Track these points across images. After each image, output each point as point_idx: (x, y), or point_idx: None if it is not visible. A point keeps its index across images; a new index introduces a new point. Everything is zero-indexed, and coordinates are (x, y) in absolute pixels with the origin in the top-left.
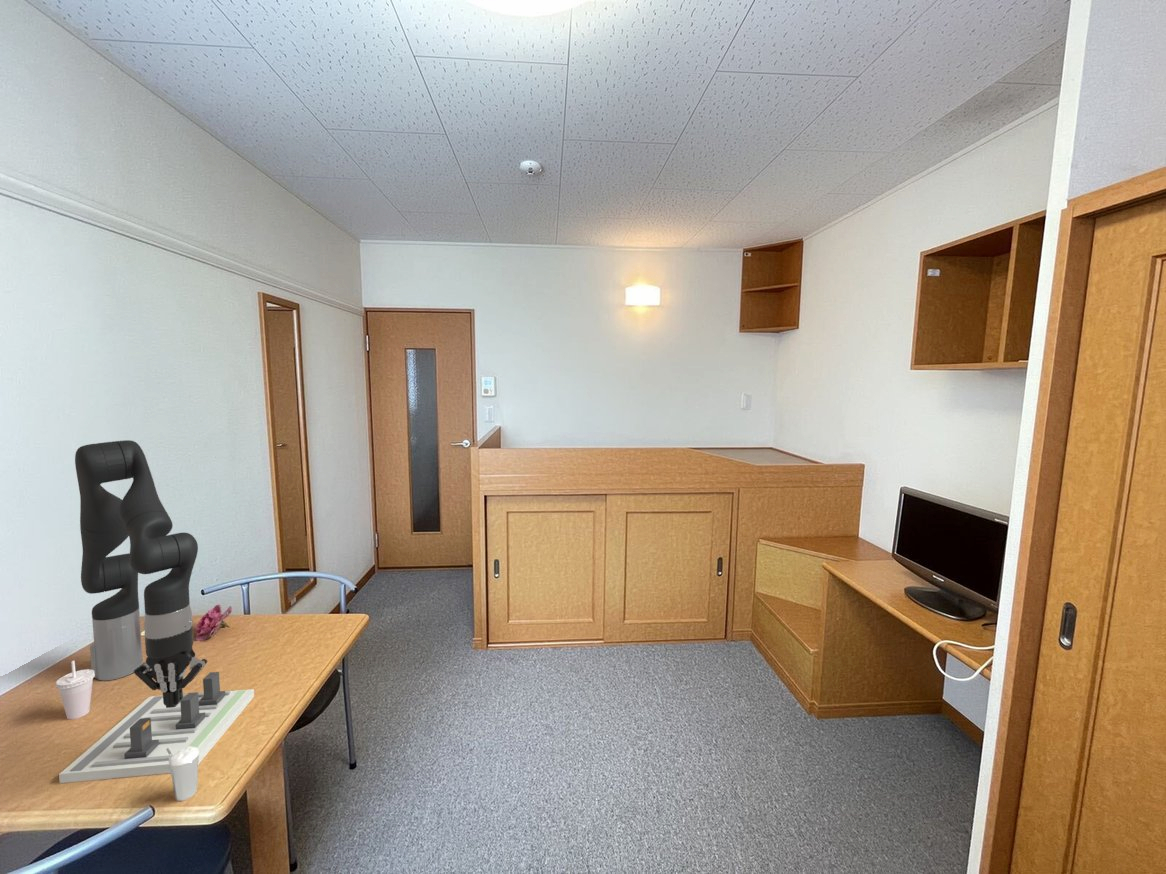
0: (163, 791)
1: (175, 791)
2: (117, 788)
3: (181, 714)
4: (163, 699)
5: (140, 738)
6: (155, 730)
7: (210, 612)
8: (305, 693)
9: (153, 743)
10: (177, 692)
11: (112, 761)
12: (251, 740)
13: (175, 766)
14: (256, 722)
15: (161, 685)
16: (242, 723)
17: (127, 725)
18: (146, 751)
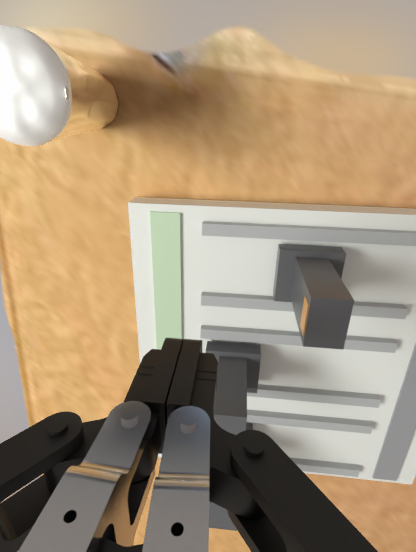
0: (169, 125)
1: (93, 72)
2: (312, 161)
3: (245, 378)
4: (213, 376)
5: (305, 275)
6: (320, 355)
7: None
8: (33, 424)
9: (279, 285)
10: (128, 399)
11: (372, 238)
12: (55, 287)
13: (11, 26)
14: (86, 349)
15: (200, 455)
16: (120, 352)
17: (412, 388)
18: (279, 252)
